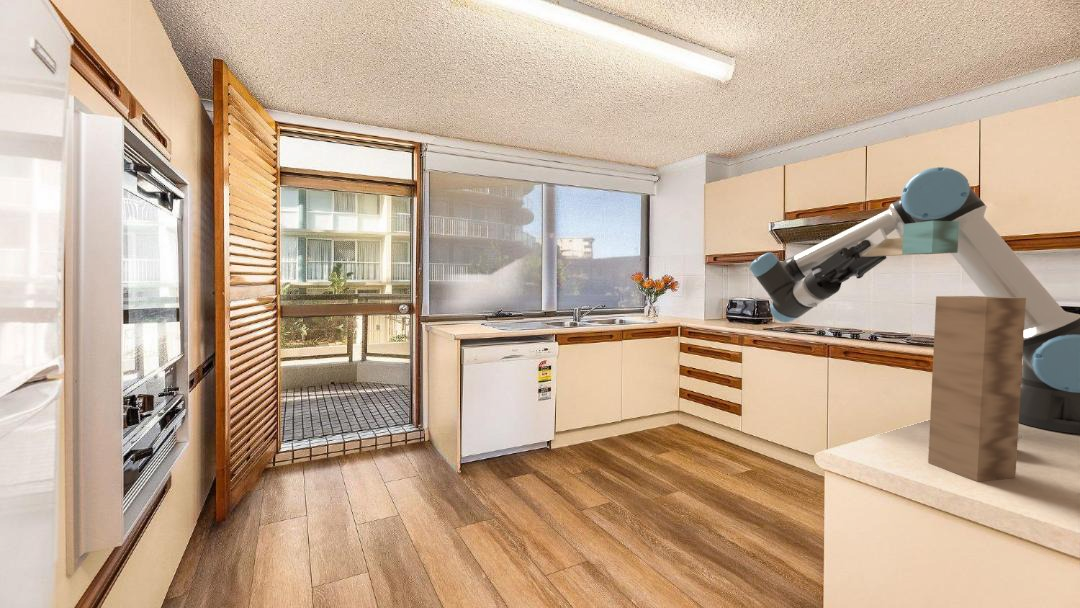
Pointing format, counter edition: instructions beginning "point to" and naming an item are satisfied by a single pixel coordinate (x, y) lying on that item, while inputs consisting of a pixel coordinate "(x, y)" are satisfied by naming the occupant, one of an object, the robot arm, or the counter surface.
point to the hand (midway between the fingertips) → (891, 234)
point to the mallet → (921, 240)
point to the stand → (976, 385)
